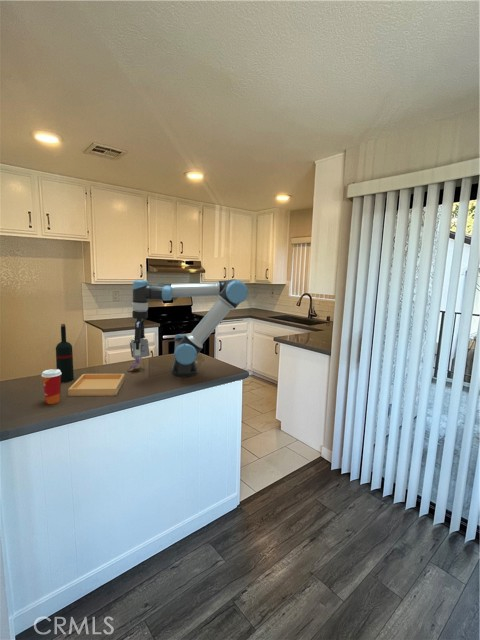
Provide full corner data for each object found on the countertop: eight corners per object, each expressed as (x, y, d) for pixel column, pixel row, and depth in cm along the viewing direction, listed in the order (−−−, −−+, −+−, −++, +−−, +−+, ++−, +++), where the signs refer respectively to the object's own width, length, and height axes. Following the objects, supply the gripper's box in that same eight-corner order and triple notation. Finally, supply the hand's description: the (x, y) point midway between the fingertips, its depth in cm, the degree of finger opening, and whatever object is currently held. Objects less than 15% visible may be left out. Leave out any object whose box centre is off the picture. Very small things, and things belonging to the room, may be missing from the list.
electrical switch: (134, 359, 162) (133, 341, 161) (128, 357, 166) (128, 340, 165) (150, 356, 170) (149, 339, 169) (144, 355, 173) (144, 338, 172)
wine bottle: (70, 375, 174) (68, 321, 169) (75, 380, 167) (73, 324, 162) (54, 377, 169) (51, 322, 164) (58, 383, 162) (55, 325, 157)
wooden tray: (124, 379, 172) (124, 373, 171) (115, 395, 151) (115, 388, 150) (83, 380, 168) (83, 373, 168) (68, 396, 148) (68, 389, 147)
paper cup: (48, 397, 145) (46, 368, 143) (66, 398, 146) (64, 368, 144) (39, 405, 138) (37, 374, 135) (57, 405, 138) (56, 374, 136)
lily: (145, 368, 195) (137, 354, 194) (154, 365, 187) (146, 351, 186) (128, 378, 187) (120, 364, 186) (137, 376, 178) (128, 361, 177)
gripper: (136, 307, 174) (135, 347, 178) (128, 313, 153) (127, 358, 156) (150, 307, 175) (149, 347, 179) (144, 314, 154) (143, 358, 157)
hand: (139, 352), depth 168 cm, fingers closed on electrical switch, 9 cm apart
